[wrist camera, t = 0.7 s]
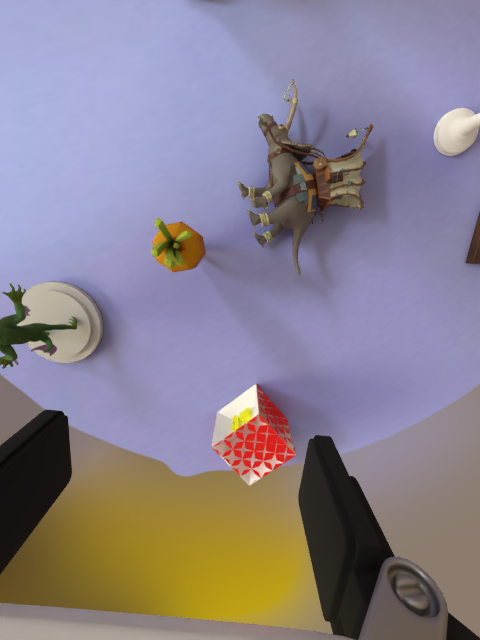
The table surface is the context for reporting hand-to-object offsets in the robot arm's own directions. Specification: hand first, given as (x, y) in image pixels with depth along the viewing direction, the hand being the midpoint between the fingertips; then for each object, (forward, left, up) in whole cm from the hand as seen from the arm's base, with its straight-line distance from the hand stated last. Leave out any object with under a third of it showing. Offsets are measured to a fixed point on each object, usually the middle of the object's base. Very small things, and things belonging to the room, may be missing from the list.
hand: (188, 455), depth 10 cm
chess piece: (-23, +26, -29) cm, 46 cm away
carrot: (-7, -5, -29) cm, 31 cm away
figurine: (-16, +9, -29) cm, 35 cm away
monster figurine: (+5, -24, -29) cm, 38 cm away
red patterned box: (+18, +5, -29) cm, 34 cm away
